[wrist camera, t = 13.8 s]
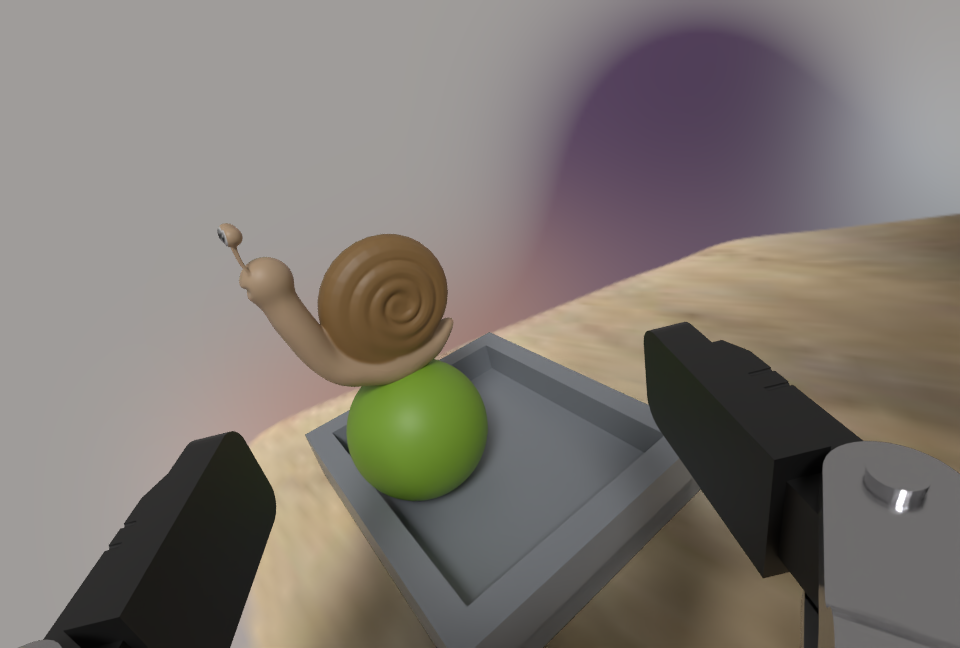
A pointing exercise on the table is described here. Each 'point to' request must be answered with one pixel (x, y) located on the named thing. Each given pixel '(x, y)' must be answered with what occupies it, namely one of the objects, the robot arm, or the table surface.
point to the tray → (520, 503)
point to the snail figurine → (382, 359)
